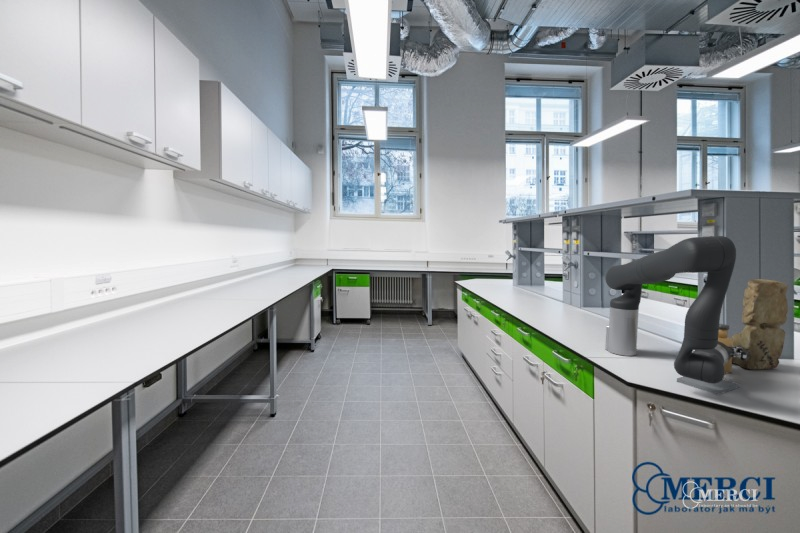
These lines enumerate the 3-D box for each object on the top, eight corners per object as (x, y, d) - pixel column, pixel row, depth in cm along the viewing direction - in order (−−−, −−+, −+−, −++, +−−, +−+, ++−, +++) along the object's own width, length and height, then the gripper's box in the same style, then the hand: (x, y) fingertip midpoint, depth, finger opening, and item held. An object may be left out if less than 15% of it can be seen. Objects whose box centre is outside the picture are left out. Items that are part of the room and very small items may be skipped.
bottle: (704, 368, 118) (707, 323, 117) (713, 365, 120) (716, 322, 119) (725, 374, 113) (728, 327, 112) (734, 371, 115) (738, 325, 114)
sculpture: (755, 361, 124) (762, 277, 122) (785, 371, 115) (793, 280, 113) (722, 362, 124) (728, 277, 121) (749, 372, 115) (756, 280, 112)
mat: (676, 381, 107) (676, 378, 107) (699, 375, 111) (699, 372, 111) (717, 394, 98) (717, 391, 97) (739, 387, 102) (739, 384, 102)
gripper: (745, 348, 101) (753, 338, 111) (683, 337, 112) (695, 329, 122) (743, 373, 101) (751, 361, 112) (681, 360, 113) (694, 350, 123)
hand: (722, 345), depth 117 cm, fingers open, 8 cm apart
